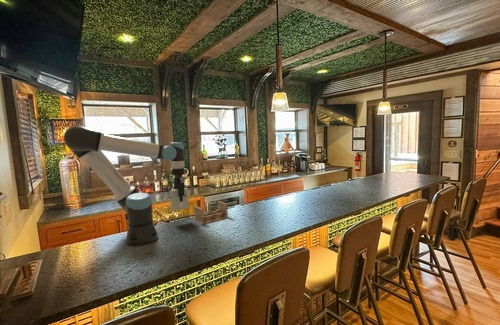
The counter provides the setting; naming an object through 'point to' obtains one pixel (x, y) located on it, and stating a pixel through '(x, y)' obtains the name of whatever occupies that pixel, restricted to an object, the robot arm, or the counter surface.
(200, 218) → the track
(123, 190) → the robot arm
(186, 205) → the door panel
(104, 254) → the counter surface
